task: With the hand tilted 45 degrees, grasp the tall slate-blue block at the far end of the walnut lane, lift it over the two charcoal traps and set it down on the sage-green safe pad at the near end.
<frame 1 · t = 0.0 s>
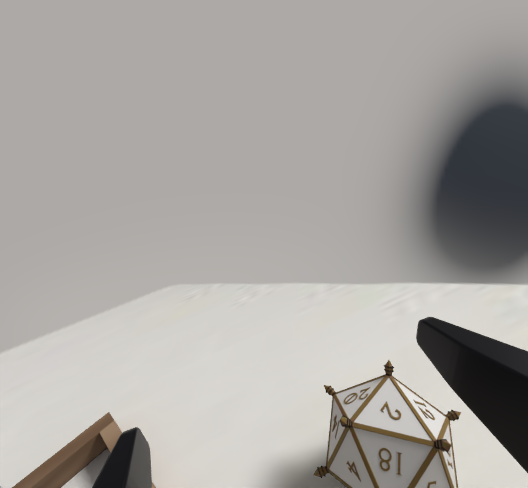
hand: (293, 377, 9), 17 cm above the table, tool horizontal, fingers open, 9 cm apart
game die: (384, 477, 20), on the table
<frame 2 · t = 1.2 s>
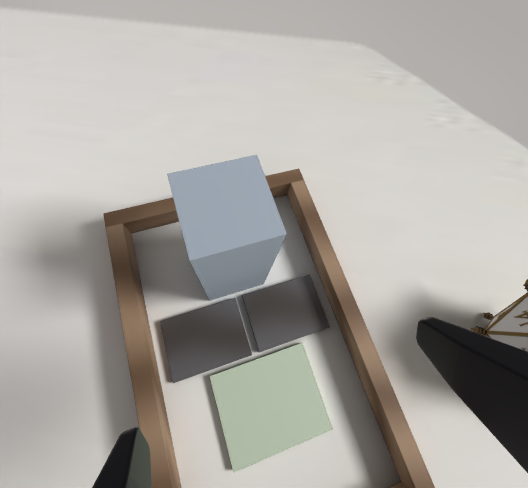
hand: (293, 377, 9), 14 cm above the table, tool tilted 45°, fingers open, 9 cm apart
slate-blue block: (229, 266, 24), resting in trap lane
safe pad: (270, 401, 20), resting in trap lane
game die: (497, 350, 24), on the table
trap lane: (257, 358, 21), on the table
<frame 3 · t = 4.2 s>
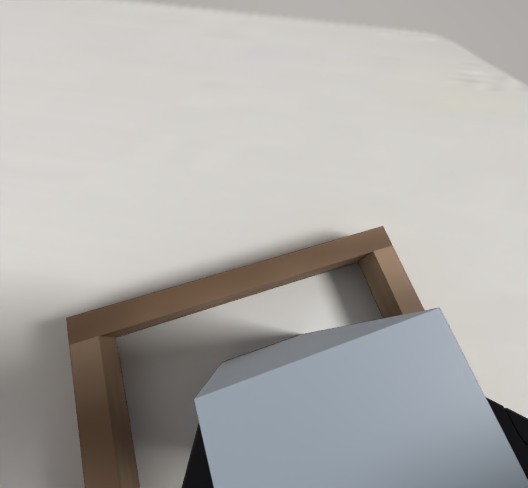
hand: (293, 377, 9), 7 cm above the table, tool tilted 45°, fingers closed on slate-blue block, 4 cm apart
slate-blue block: (277, 392, 14), resting in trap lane, touching gripper
when the fingers open (8 cm above the table, at t = 7.7 s): slate-blue block moves 1 cm, resting on safe pad.
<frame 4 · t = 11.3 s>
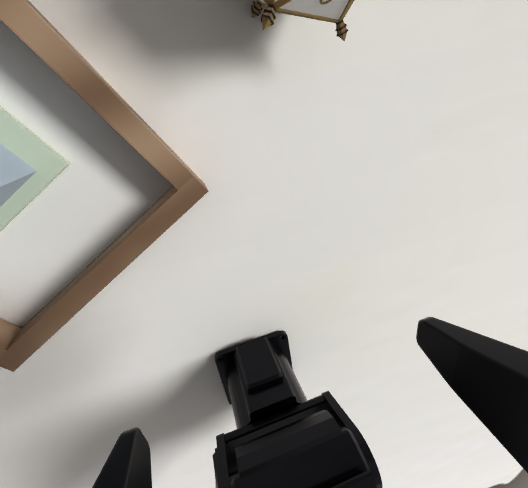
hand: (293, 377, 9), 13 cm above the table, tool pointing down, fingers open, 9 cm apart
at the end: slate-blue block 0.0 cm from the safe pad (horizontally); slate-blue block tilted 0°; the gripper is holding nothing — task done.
